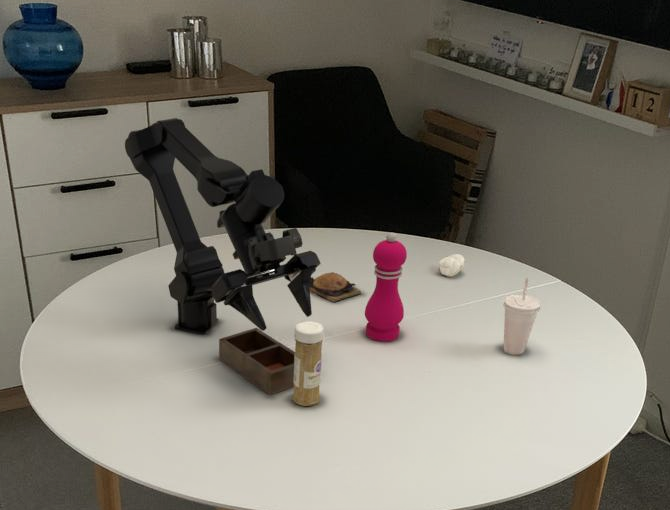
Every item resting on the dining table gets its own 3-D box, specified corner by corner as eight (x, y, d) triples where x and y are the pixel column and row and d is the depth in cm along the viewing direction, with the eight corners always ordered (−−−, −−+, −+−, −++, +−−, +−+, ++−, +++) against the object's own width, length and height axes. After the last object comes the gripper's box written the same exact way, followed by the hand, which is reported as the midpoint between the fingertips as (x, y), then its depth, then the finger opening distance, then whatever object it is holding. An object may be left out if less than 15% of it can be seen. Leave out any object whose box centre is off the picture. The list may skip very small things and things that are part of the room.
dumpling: (468, 278, 191) (468, 263, 188) (445, 284, 191) (445, 268, 188) (456, 261, 196) (457, 245, 193) (434, 266, 196) (434, 251, 193)
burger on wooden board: (363, 294, 183) (365, 278, 181) (331, 303, 179) (333, 287, 177) (331, 277, 190) (332, 261, 188) (299, 285, 186) (300, 269, 184)
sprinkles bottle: (315, 409, 144) (319, 334, 137) (288, 404, 145) (291, 330, 138) (322, 395, 148) (326, 322, 140) (296, 391, 149) (299, 318, 142)
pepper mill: (400, 344, 163) (411, 241, 153) (361, 340, 165) (369, 238, 154) (402, 327, 169) (413, 227, 159) (364, 324, 171) (373, 224, 160)
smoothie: (534, 346, 163) (548, 275, 156) (528, 361, 158) (542, 288, 151) (499, 339, 166) (512, 269, 158) (492, 353, 161) (504, 282, 153)
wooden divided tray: (219, 359, 158) (218, 339, 156) (256, 347, 162) (256, 327, 160) (270, 395, 147) (270, 374, 145) (308, 381, 151) (309, 360, 149)
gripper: (220, 225, 134) (261, 317, 132) (316, 202, 143) (356, 288, 141) (193, 258, 144) (232, 344, 142) (285, 235, 153) (322, 316, 151)
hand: (287, 322), depth 144 cm, fingers open, 9 cm apart
